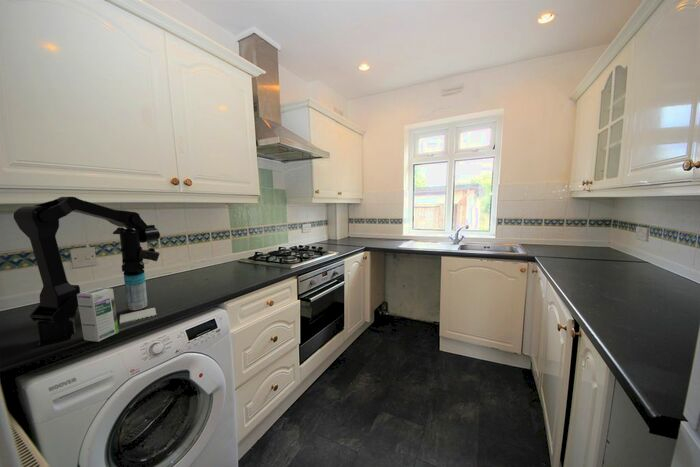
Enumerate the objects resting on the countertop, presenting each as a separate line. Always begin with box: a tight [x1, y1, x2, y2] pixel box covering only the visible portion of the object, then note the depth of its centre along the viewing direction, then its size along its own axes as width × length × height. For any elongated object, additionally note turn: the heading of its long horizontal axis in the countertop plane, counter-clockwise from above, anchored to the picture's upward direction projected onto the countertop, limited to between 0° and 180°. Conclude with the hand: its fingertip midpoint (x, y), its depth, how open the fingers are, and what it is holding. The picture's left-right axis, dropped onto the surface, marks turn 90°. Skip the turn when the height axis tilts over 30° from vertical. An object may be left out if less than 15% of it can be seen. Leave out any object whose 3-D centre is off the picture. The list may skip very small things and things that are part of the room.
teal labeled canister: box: [123, 269, 148, 313], centre depth 97 cm, size 6×6×15 cm
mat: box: [119, 307, 158, 325], centre depth 93 cm, size 10×8×1 cm
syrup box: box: [77, 287, 120, 343], centre depth 78 cm, size 6×6×14 cm
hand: (135, 284), depth 101 cm, fingers closed
